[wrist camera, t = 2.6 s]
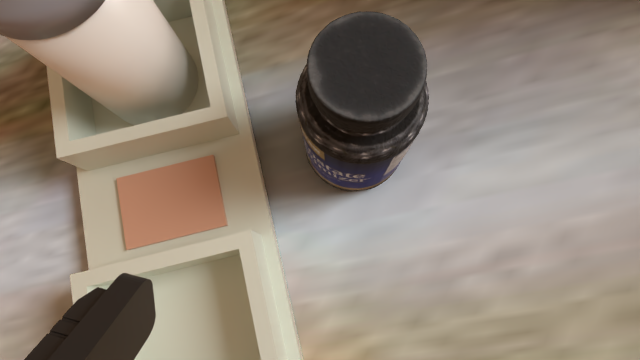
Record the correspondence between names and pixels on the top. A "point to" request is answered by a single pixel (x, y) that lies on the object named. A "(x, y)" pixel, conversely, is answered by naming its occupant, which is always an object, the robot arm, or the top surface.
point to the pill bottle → (362, 99)
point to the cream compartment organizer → (164, 168)
